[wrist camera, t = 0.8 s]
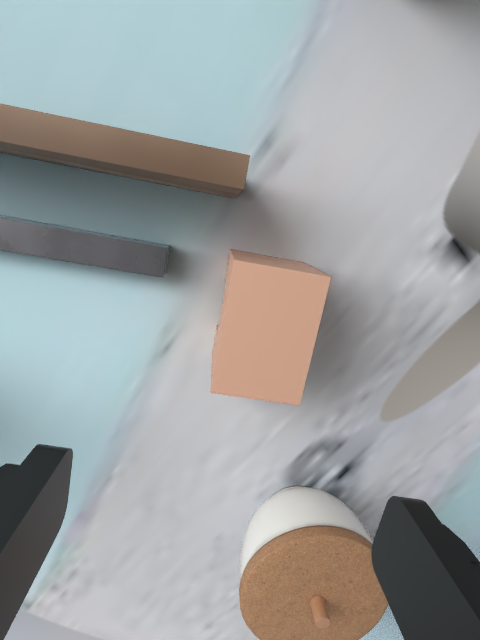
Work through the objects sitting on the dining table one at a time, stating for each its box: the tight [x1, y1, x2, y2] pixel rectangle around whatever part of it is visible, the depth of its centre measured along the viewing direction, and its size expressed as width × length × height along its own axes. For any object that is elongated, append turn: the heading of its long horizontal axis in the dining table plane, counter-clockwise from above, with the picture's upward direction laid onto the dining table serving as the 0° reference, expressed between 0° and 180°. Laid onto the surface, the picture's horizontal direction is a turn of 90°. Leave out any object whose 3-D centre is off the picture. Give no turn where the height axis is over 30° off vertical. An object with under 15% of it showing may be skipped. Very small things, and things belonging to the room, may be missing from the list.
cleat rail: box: [0, 215, 170, 277], centre depth 25 cm, size 2×16×2 cm, turn 79°
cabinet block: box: [211, 249, 331, 405], centre depth 25 cm, size 8×6×7 cm
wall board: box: [0, 104, 250, 198], centre depth 21 cm, size 2×24×9 cm, turn 80°
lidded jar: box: [239, 486, 388, 640], centre depth 29 cm, size 11×11×9 cm
